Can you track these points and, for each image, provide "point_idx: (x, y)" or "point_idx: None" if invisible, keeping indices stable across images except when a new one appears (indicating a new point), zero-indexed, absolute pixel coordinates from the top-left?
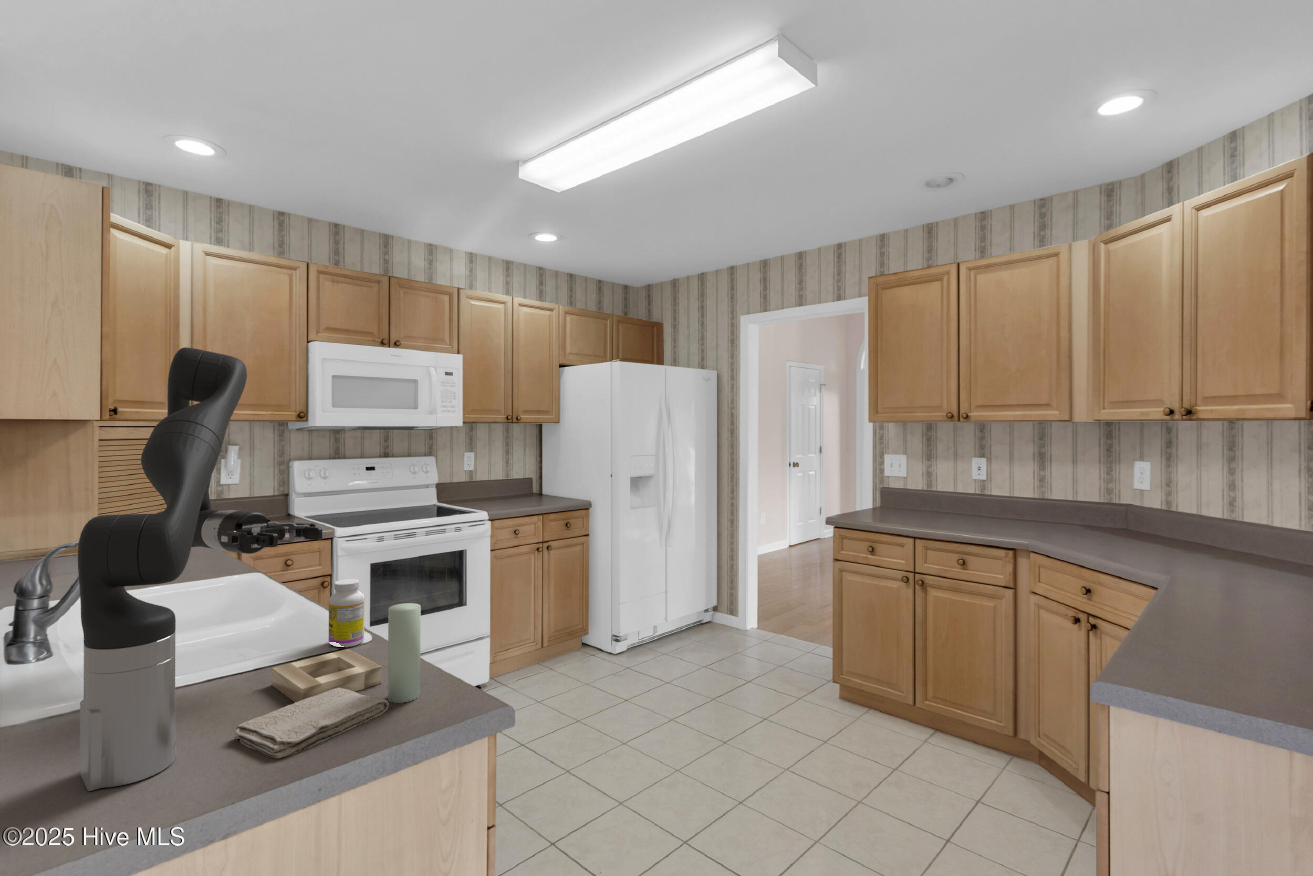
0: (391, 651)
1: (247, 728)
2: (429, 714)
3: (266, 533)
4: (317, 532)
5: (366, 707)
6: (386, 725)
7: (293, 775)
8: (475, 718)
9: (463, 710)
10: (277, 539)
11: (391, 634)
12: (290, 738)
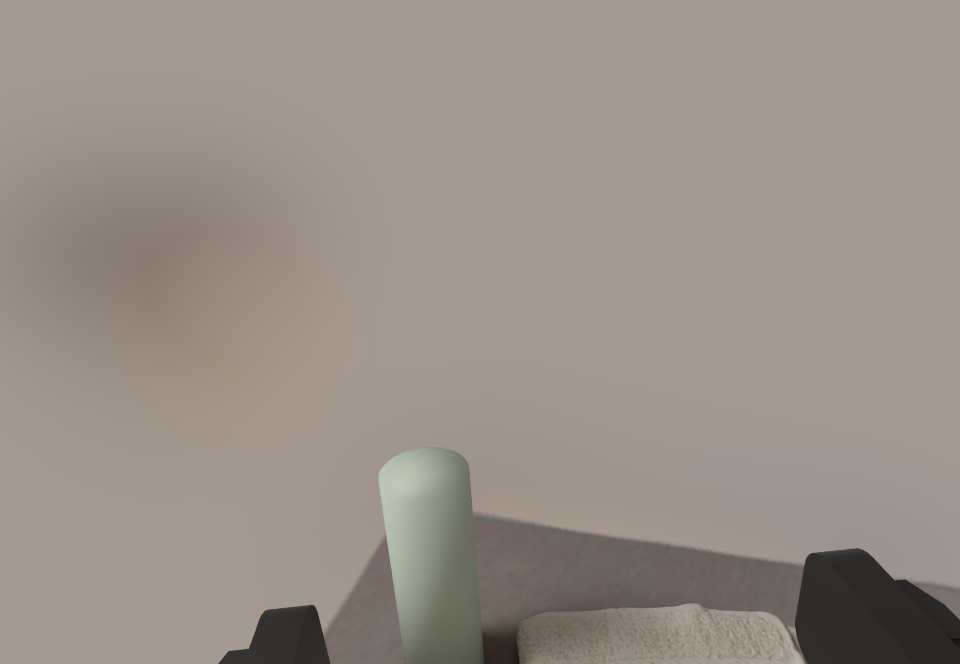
0: (476, 566)
1: None
2: (486, 568)
3: (945, 645)
4: (315, 649)
5: (581, 611)
6: (565, 593)
7: (770, 575)
8: None
9: None
10: (804, 584)
11: (473, 529)
12: (762, 618)
